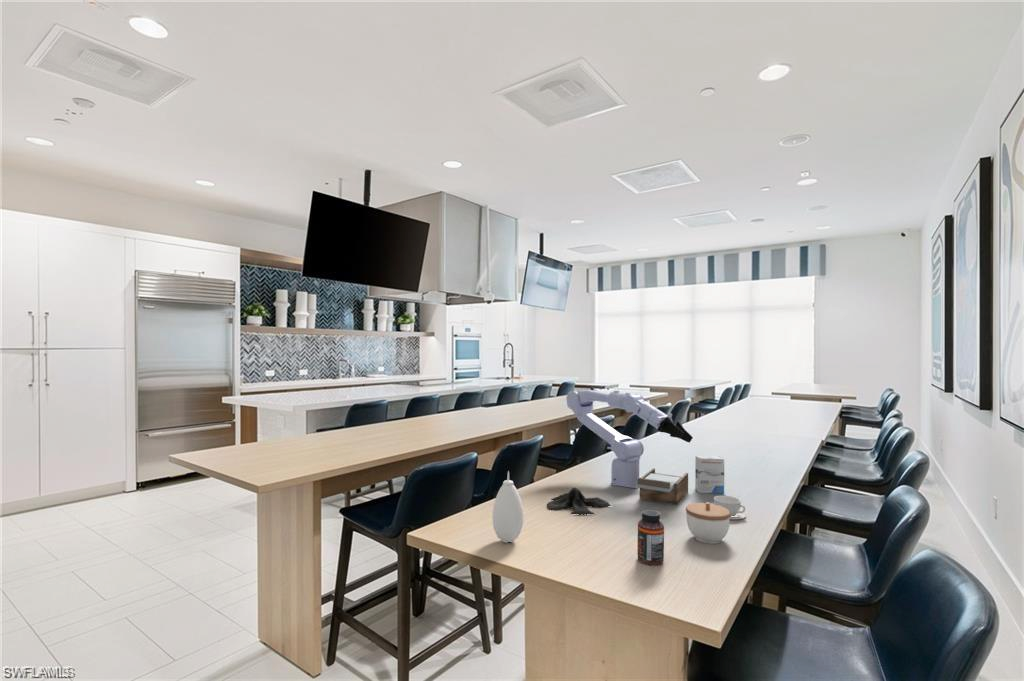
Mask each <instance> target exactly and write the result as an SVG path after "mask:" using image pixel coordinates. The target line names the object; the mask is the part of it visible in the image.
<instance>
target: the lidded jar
mask: <svg viewBox="0 0 1024 681" xmlns="http://www.w3.org/2000/svg"><path fill="white" fill-rule="evenodd" d="M685 512H686V513H685V514H686V524H687V527H688V530H689V531H690V533H691V534H692V535H693V537H694V538H695V539H696V541H698V542H700V543H703V544H704V543H705V544H709V543H710V545H712V544H713V545H714V544H719V543H720V542H721V541H722V540H723V539H725V537H726V536H727V534H728V532H729V528H730V521H731V519H730V511H729V510H728V509H726V508H724V507H722V506H719V505H715V504H714V503H710V502H707V501H706V502H694V503H689V504H687V505H686V506H685Z"/></svg>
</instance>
